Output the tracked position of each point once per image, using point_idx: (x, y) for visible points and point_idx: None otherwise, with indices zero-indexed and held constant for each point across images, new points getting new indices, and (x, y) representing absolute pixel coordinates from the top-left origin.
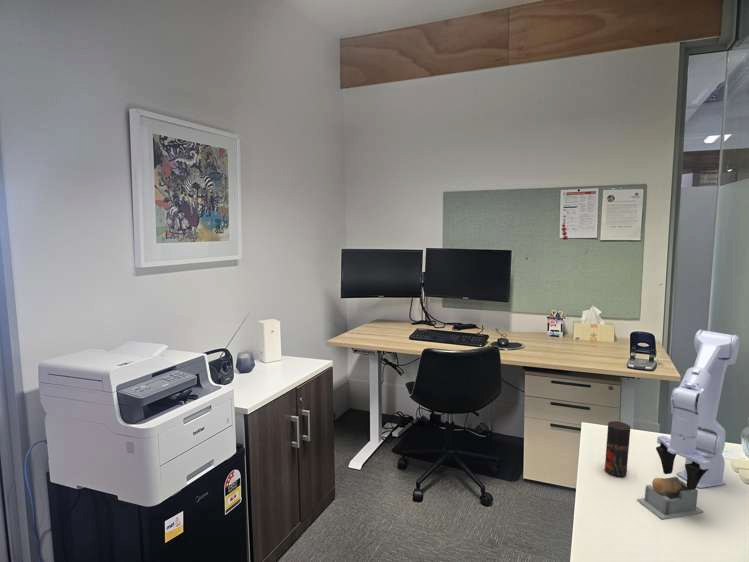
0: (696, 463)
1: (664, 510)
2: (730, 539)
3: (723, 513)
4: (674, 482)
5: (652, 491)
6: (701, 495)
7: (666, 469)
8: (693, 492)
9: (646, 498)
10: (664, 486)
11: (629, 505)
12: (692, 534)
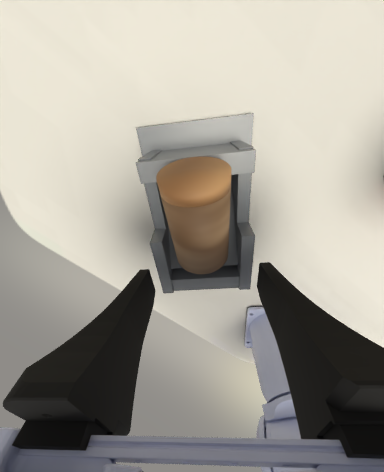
0: (53, 449)
1: (150, 152)
2: (73, 246)
3: None
4: (185, 252)
5: (214, 153)
6: (226, 295)
7: (266, 282)
8: (161, 277)
9: (233, 142)
10: (158, 186)
11: (234, 47)
12: (74, 174)
